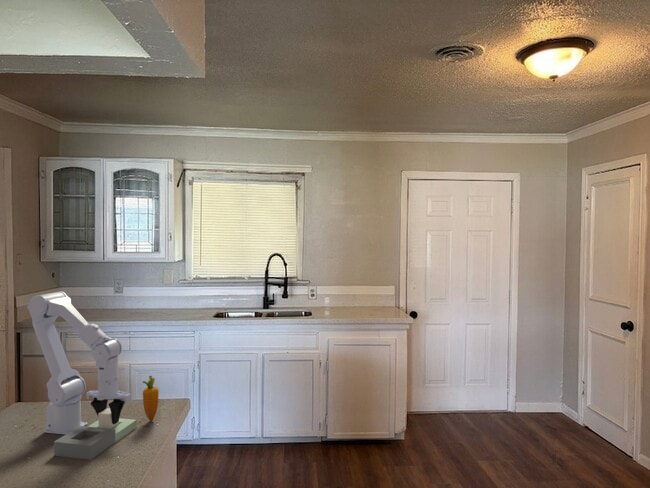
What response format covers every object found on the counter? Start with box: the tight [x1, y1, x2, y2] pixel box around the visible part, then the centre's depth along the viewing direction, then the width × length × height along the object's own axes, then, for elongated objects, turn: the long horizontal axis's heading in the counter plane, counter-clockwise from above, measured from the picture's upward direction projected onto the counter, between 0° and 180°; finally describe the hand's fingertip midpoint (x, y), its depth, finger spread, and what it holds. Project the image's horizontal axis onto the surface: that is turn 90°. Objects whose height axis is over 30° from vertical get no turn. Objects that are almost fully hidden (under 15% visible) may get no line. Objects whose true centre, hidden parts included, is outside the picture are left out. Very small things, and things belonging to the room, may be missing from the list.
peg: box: [97, 407, 119, 429], centre depth 136 cm, size 4×4×6 cm
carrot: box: [142, 375, 160, 422], centre depth 144 cm, size 5×5×15 cm
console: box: [53, 417, 137, 461], centre depth 132 cm, size 20×12×4 cm, turn 168°
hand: (109, 422), depth 136 cm, fingers closed on peg, 4 cm apart
